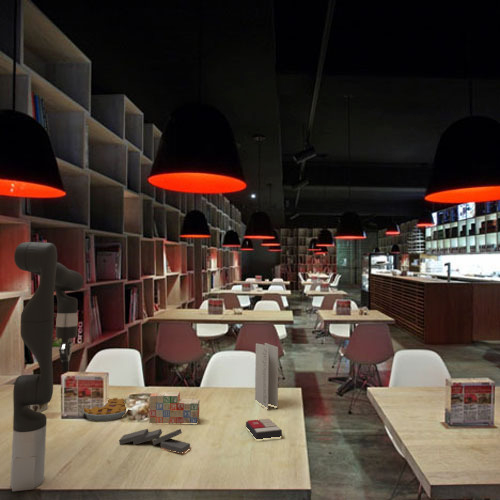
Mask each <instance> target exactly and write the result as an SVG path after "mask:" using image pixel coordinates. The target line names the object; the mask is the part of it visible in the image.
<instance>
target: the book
mask: <svg viewBox="0 0 500 500" xmlns="http://www.w3.org/2000/svg"><path fill="white" fill-rule="evenodd" d="M246 427H247V428H248V429H249V430H250V432H251V433H252V434H253V436H254V437H255V438H256V439H263V438H271V437H280V436H282V437H283V430H282V429H281V428H280V427H279V426H278V425H277V424H276V423H275V422H273V421H272V420H271V418H261V419H250V420H247V421H245V428H246ZM253 436H252V437H253Z"/></svg>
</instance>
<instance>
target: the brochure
mask: <svg viewBox="0 0 500 500" xmlns="http://www.w3.org/2000/svg"><path fill="white" fill-rule="evenodd" d="M254 367H255V371H254V372H255V375H254V376H255V377H254V378H255V379H254V382H255V384H254V385H255V386H254V391H255V392H254V401H255V400H257V401H258V402H259V403H261V404H262V405H264V406H265V407H267V408H268V409H269V407H268V404H271V405H274V406H277V407H279V406H278V405H279V400H278V396H279V389H278V388H279V386H278V385H279V347H278V346H276V345H272V344H269V343H267V342H264V344H261V343H255V366H254Z"/></svg>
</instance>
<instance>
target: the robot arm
mask: <svg viewBox="0 0 500 500" xmlns="http://www.w3.org/2000/svg"><path fill="white" fill-rule="evenodd" d="M57 250H58V249H57V246H56V245H55V244H54V243H52V242H37V241H25V242H21V243H19V244H17V246H16V248H15V251H14V255H13V256H14V257H13V259H14V263H15V265H16V267H17V268H18V269H19V270H21V271H24V272H29V273H31V274H35V275H37V276H40V279H39V283H38V287H36V288H37V289H36V291H35V292H34V293H33V295H32V296H31V298H30V299H29V300H28V302H27V303H26V305H25V306H24V308H23V310H22V311H21V314H20V337H21V338H22V341H23V342H24V344H25V346H26V347H27V348H28V350H29V351H30V352H31V353H32V355H33V356H34V359H36V362H37V364H38V366H39V370H40V373H38V374H37V373H36V374H22V375H18V377H16V379H15V381H14V385H13V392H12V393H13V395H12V396H13V400H12V402H13V413H12V415H13V416H12V419H13V420H12V421H13V425H12V440H11V441H12V445H11V446H12V447H11V463H10V464H11V466H10V489H11V491H12V492H18V491H21V492H22V491H28V490H31V491H32V490H35V488H37V487H39V486H40V485H42V484H43V483H44V481H45V468H46V467H45V466H46V465H45V462H46V441H47V439H46V438H47V416H46V414H44V413H42V412H36V411H33V410H31V409H30V408H29V407H28V406H27V405H39V404H46V403H50V402H51V401H52V399H53V394H54V375H53V374H54V373H53V372H54V369H53V342H54V323H56V324H55V338H56V339H60V340H61V342H60V343H59V349H58V351H59V358H60V361H61V372H63V373H65V372H66V373H67V372H68V371H69V368H70V360H71V357H72V353H73V352H72V351H73V346H74V344H73V341H72V339H74V338H77V337H78V327H79V326H78V321H79V319H78V302H79V301H78V299H77V298H76V297H73V296H69V295H67V293H66V292H77V291H80V290H81V289H82V288H83V286H84V285H85V284H84V277H83V275H82V274H81V273H80V272H78V271H76V270H72V269H70V268H69V269H68V268H67V267H66V266H65V265H63V264H62V263H60V262H58V251H57ZM55 296H56V301H57V310H56V311H57V313H56V319H55V320H54V318H55V311H54V309H55V308H54V307H55V304H54V301H55V299H54V298H55ZM54 321H56V322H54Z"/></svg>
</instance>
